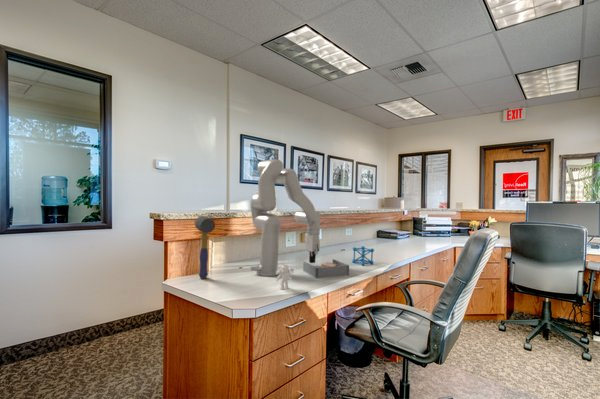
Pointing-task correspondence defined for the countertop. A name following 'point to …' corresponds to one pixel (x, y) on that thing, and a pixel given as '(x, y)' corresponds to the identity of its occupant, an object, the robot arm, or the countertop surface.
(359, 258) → the molecular structure
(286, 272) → the flower shoulder figurine
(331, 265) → the terracotta tile
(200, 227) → the rubber mallet
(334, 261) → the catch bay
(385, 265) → the countertop surface
